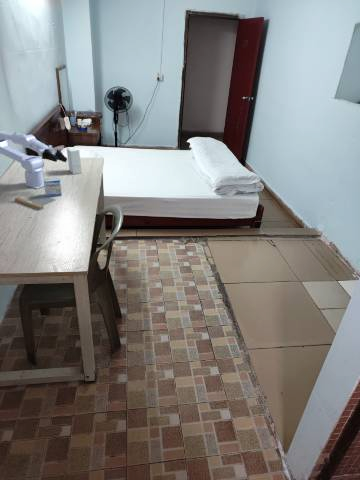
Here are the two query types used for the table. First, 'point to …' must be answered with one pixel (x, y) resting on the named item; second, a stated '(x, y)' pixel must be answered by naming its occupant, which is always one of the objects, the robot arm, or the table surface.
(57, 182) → the medicine box
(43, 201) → the level mat
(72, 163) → the skincare box
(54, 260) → the table surface
